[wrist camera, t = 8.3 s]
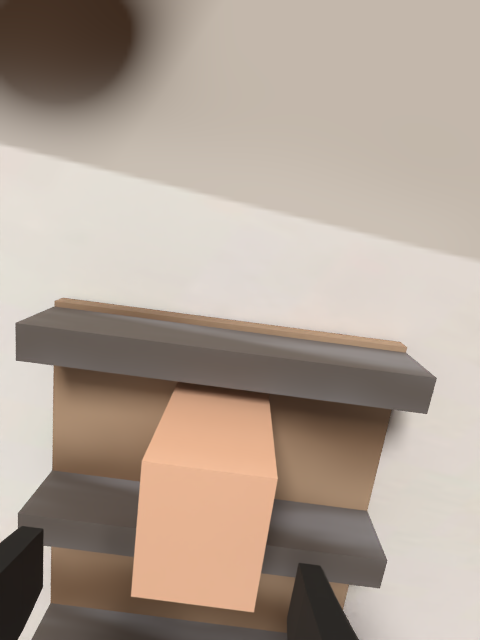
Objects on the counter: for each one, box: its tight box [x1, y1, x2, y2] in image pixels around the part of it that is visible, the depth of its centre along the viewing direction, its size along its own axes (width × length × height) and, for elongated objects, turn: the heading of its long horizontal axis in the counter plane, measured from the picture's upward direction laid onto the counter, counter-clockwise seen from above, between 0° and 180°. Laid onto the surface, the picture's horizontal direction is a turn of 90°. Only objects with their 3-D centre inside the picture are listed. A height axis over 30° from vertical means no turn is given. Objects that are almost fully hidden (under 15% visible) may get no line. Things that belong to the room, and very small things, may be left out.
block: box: [131, 382, 278, 612], centre depth 15 cm, size 5×4×7 cm
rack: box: [16, 298, 437, 640], centre depth 19 cm, size 19×16×4 cm
